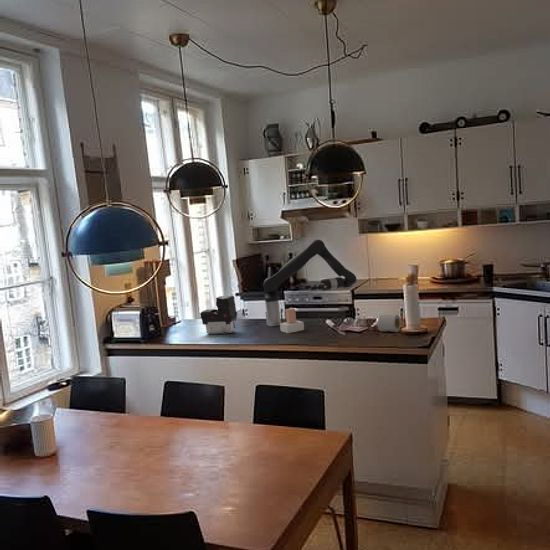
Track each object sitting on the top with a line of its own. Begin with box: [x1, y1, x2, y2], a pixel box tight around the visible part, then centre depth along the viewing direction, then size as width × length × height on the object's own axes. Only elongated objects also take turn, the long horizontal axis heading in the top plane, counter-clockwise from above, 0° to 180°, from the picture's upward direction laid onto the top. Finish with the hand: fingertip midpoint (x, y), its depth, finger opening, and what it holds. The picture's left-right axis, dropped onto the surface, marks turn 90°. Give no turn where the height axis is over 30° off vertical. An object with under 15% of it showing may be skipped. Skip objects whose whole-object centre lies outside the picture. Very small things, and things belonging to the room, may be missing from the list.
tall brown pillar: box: [285, 307, 297, 324], centre depth 356 cm, size 5×4×14 cm
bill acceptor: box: [199, 294, 238, 335], centre depth 375 cm, size 10×23×25 cm, turn 70°
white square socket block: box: [279, 319, 305, 334], centre depth 357 cm, size 12×10×6 cm
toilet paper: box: [377, 314, 402, 333], centre depth 330 cm, size 10×10×10 cm
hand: (307, 288), depth 360 cm, fingers open, 8 cm apart
